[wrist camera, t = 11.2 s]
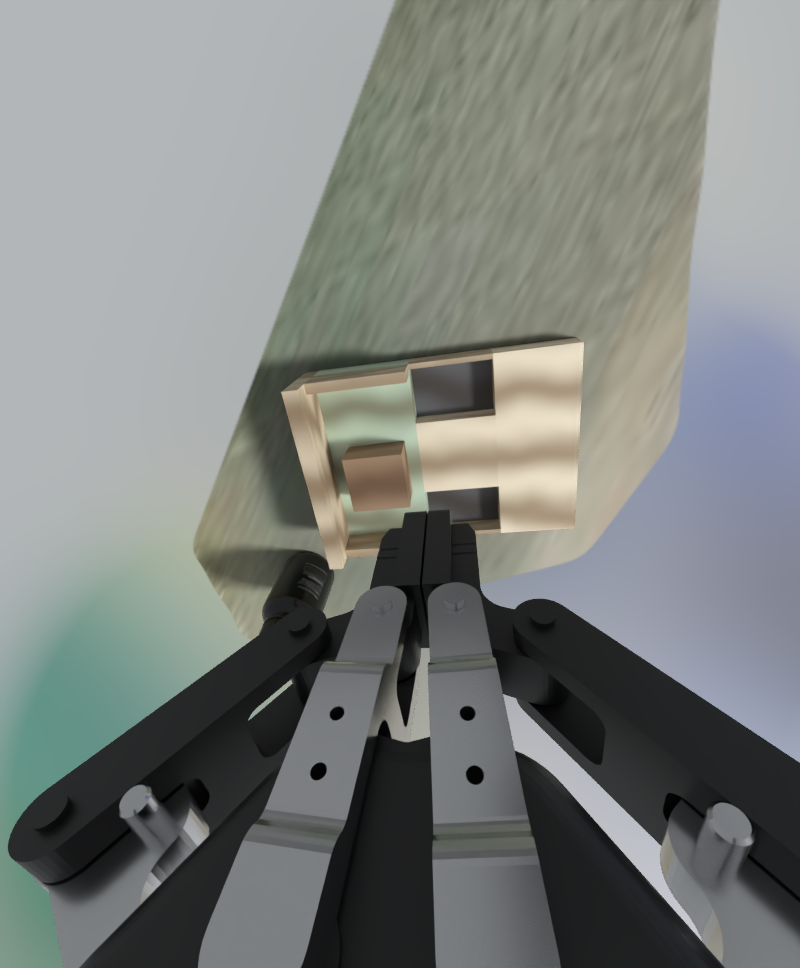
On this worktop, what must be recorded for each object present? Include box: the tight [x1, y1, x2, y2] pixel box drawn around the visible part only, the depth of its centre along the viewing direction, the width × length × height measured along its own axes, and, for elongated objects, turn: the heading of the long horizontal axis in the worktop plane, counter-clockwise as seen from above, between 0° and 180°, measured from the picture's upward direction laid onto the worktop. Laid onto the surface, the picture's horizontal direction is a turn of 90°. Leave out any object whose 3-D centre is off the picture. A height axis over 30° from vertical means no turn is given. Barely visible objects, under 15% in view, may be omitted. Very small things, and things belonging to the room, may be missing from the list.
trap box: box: [281, 337, 584, 569], centre depth 44 cm, size 20×27×8 cm
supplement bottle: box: [259, 552, 334, 635], centre depth 52 cm, size 7×7×12 cm
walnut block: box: [342, 441, 412, 512], centre depth 45 cm, size 6×6×4 cm
